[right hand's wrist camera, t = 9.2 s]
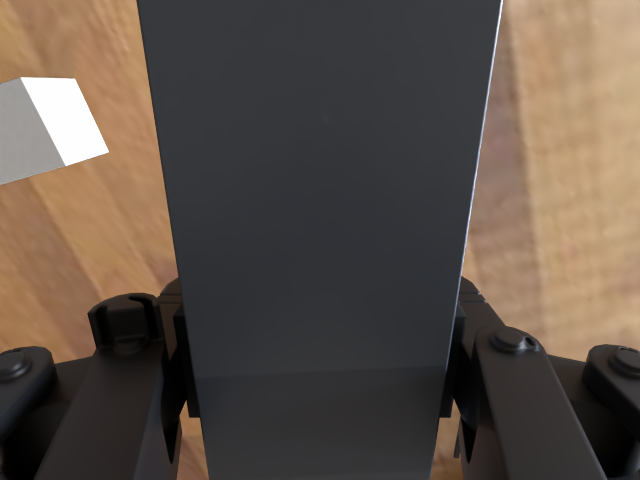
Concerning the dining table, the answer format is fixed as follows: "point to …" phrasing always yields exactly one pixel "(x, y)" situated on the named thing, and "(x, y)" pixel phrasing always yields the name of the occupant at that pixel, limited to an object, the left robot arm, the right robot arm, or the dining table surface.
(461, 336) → the right robot arm
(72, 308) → the dining table surface
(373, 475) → the bar
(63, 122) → the pale grey block
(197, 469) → the dining table surface
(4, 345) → the dining table surface
